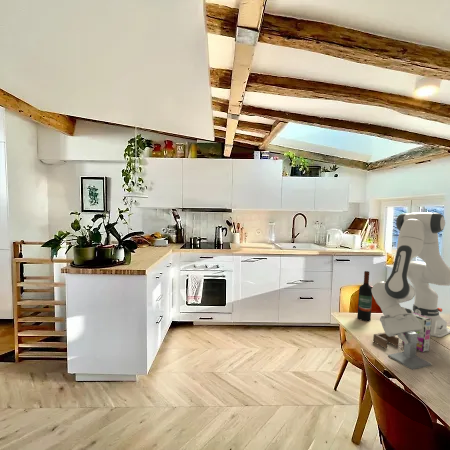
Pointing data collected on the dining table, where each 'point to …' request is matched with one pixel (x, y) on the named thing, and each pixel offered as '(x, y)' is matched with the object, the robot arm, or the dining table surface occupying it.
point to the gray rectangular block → (410, 344)
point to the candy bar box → (423, 333)
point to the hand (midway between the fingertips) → (412, 342)
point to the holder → (385, 339)
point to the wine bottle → (365, 299)
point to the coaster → (409, 361)
